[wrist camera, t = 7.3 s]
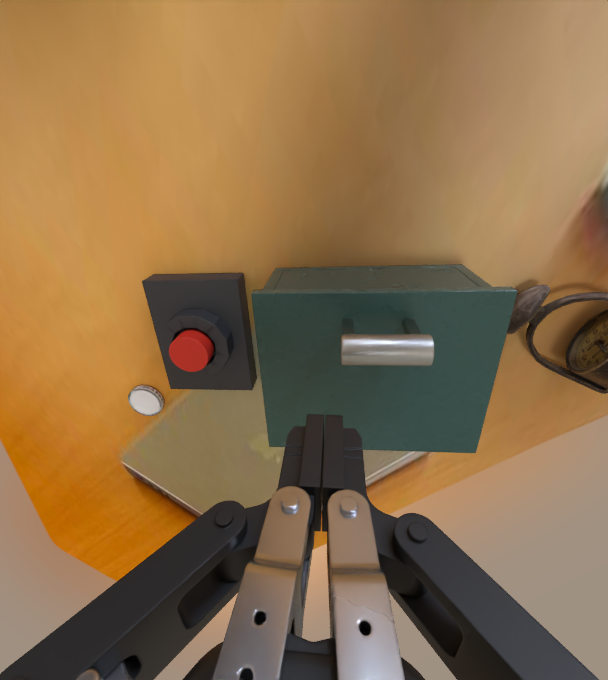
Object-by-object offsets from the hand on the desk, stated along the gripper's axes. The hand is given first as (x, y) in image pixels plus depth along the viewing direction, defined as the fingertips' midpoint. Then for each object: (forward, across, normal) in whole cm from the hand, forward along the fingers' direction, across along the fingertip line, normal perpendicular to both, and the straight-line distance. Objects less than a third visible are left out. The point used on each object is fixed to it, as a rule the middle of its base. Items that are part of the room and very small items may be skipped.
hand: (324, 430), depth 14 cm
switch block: (+20, +13, +5) cm, 24 cm away
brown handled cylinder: (+20, -22, +3) cm, 30 cm away
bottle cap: (+19, +22, +14) cm, 32 cm away
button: (+16, +13, +5) cm, 21 cm away
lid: (+11, -3, +4) cm, 12 cm away
